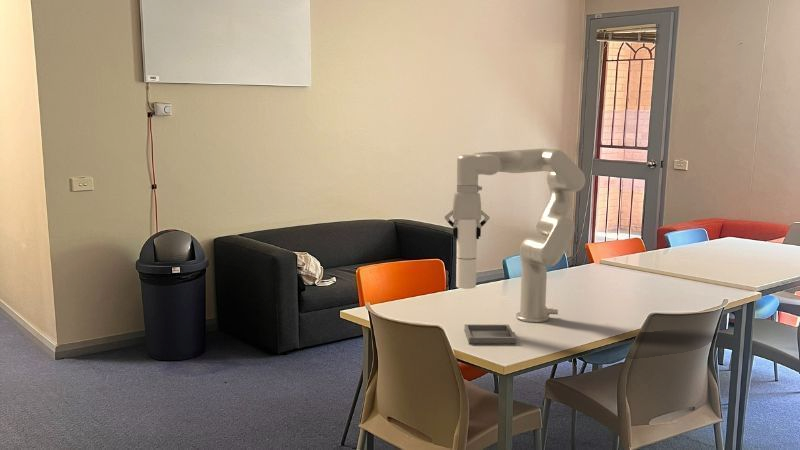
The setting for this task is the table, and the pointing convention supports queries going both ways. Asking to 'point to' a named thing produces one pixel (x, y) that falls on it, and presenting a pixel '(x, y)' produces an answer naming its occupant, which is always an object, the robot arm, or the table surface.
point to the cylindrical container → (466, 253)
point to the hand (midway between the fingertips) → (466, 238)
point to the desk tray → (489, 335)
